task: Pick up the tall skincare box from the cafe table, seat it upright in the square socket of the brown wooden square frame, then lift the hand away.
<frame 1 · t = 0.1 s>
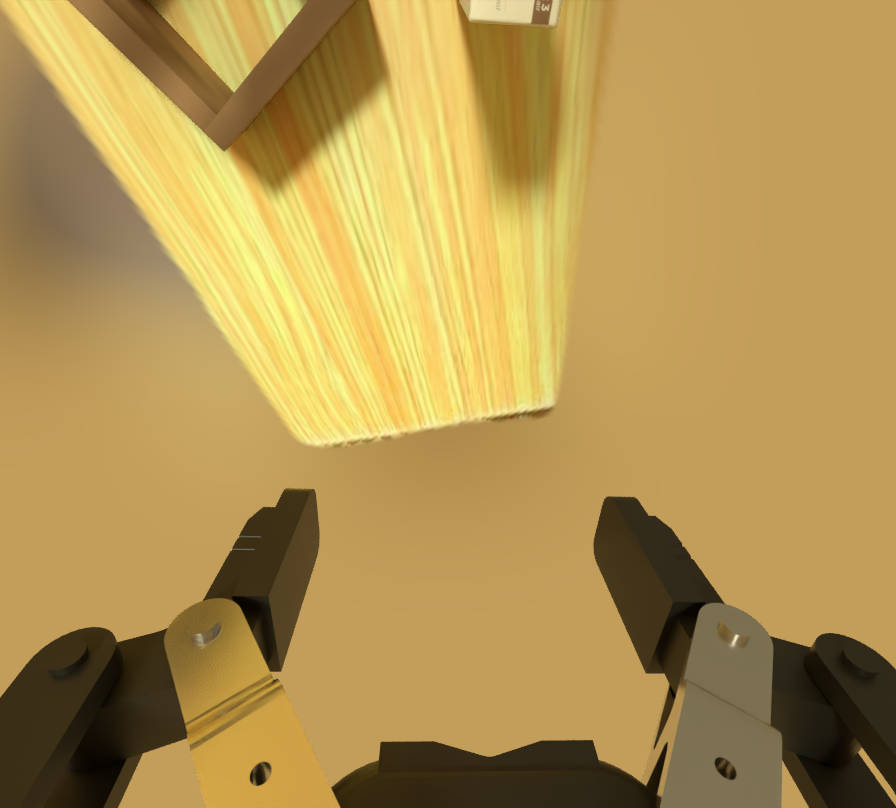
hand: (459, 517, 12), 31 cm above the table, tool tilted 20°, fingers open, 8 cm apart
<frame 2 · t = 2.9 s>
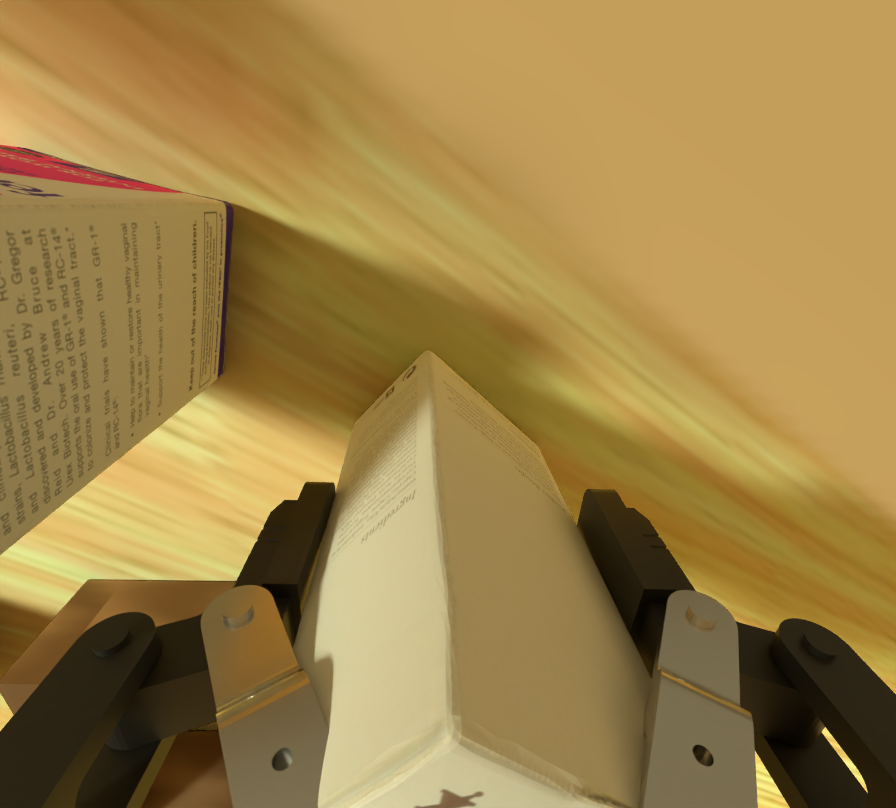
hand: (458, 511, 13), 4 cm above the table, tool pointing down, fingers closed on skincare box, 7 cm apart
supplement box: (138, 269, 14), on the table
skincare box: (453, 431, 17), on the table, touching gripper
brown wooden square frame: (256, 674, 22), on the table
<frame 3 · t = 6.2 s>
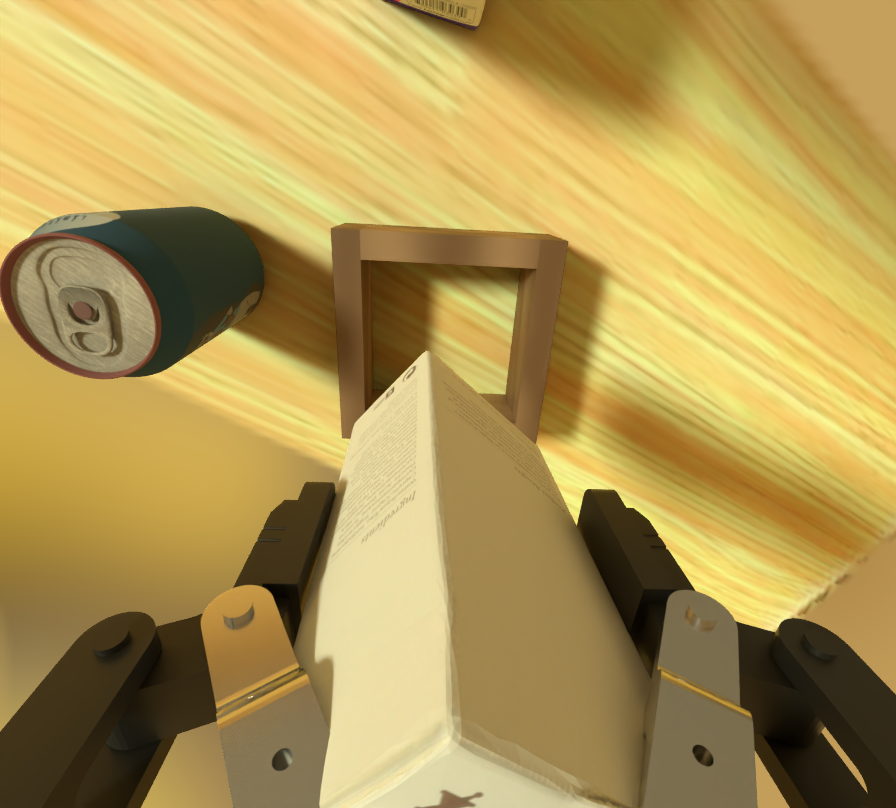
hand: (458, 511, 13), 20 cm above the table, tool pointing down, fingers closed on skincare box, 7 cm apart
skincare box: (453, 431, 17), point 15 cm above the table, touching gripper
brown wooden square frame: (443, 327, 30), on the table
soda can: (216, 265, 28), on the table
when the fingers open (6 cm above the table, at t = 9.3 s): skincare box drops 1 cm, resting in brown wooden square frame.
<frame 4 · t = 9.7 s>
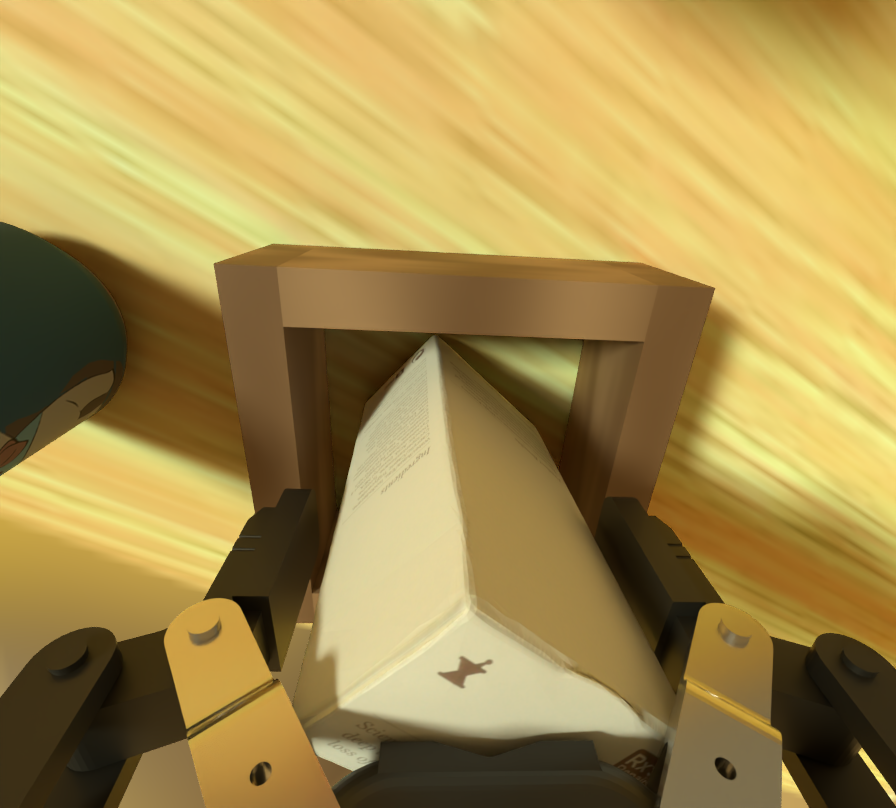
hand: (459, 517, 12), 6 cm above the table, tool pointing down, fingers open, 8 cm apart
skincare box: (457, 412, 18), resting in brown wooden square frame
brown wooden square frame: (450, 417, 18), on the table
soda can: (47, 318, 16), on the table
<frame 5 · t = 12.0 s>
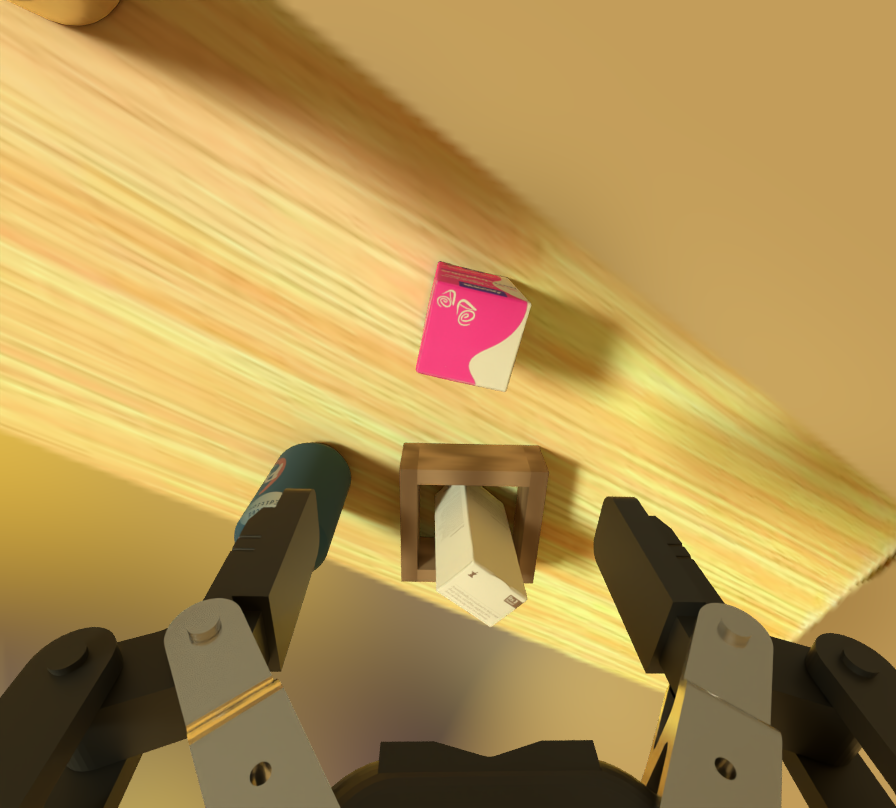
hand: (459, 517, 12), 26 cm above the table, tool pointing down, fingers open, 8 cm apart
supplement box: (464, 301, 36), on the table
skincare box: (471, 497, 44), resting in brown wooden square frame
brown wooden square frame: (468, 499, 44), on the table
soda can: (317, 466, 43), on the table
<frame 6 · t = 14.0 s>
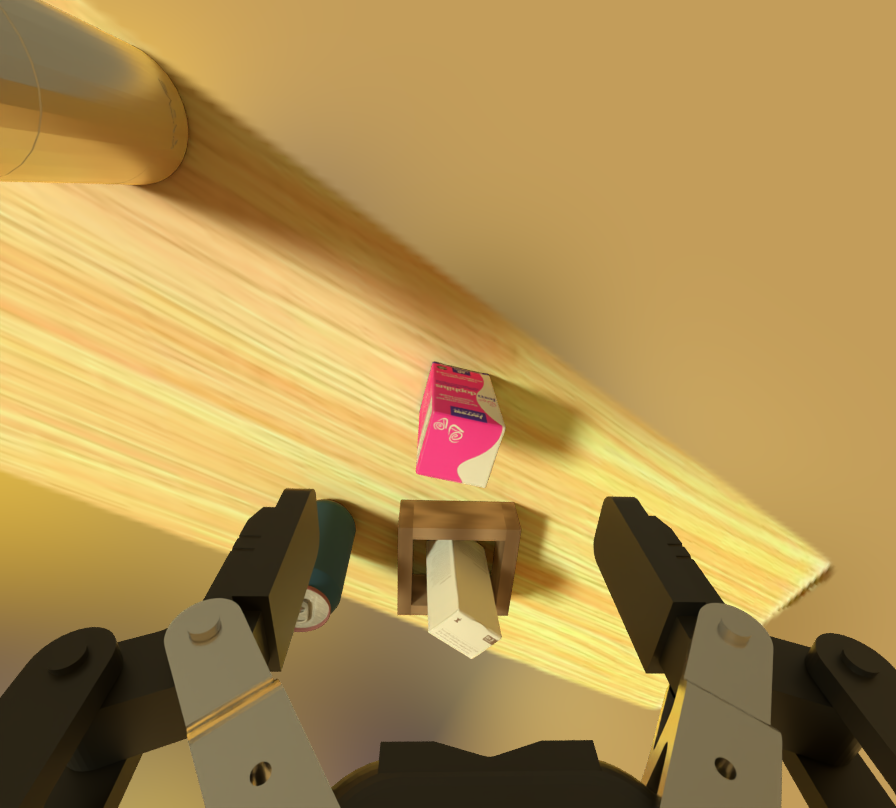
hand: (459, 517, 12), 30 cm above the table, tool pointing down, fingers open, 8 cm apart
supplement box: (453, 391, 44), on the table
skincare box: (456, 542, 52), resting in brown wooden square frame
brown wooden square frame: (454, 544, 52), on the table
soda can: (326, 518, 50), on the table
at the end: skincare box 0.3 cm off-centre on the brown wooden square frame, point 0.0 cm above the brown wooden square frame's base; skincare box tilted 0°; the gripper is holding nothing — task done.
